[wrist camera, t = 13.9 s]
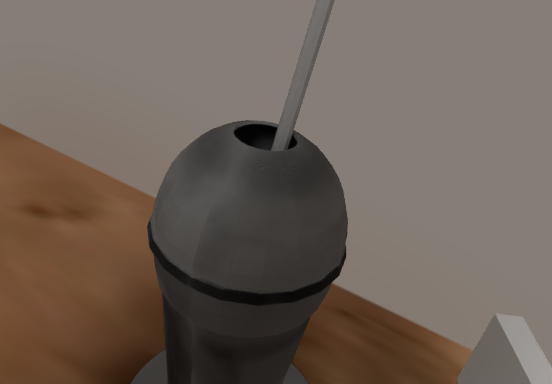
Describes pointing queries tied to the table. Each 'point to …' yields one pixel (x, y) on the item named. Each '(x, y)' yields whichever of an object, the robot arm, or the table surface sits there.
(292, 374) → the coaster
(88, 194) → the table surface
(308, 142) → the beverage cup
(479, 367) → the robot arm
